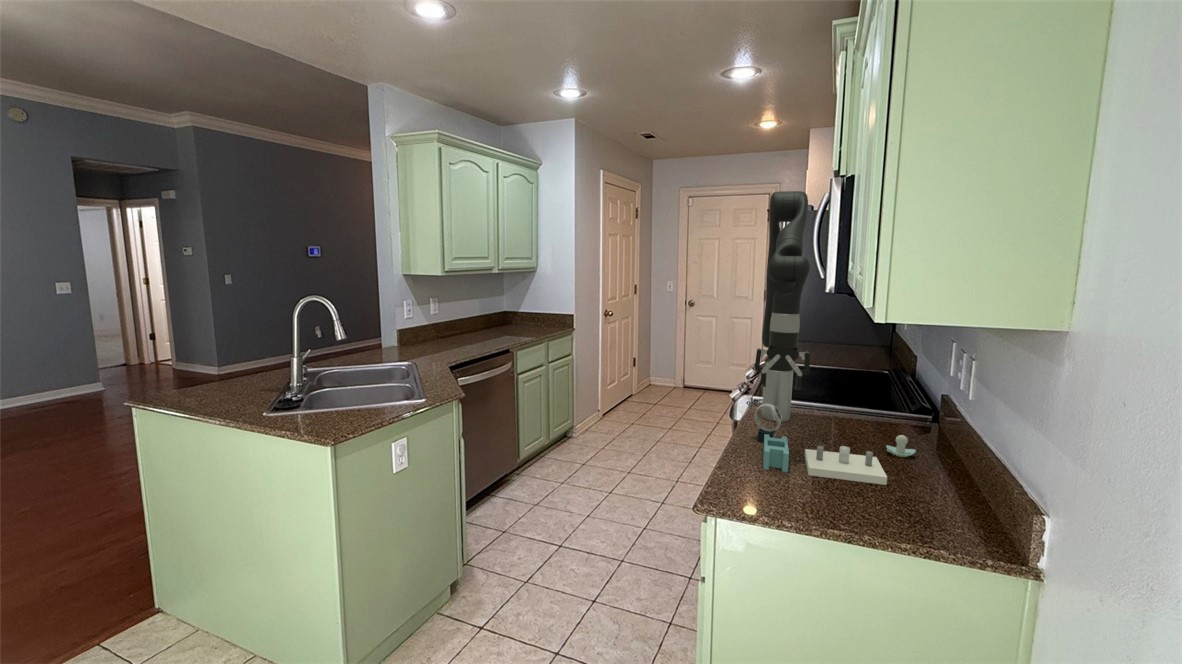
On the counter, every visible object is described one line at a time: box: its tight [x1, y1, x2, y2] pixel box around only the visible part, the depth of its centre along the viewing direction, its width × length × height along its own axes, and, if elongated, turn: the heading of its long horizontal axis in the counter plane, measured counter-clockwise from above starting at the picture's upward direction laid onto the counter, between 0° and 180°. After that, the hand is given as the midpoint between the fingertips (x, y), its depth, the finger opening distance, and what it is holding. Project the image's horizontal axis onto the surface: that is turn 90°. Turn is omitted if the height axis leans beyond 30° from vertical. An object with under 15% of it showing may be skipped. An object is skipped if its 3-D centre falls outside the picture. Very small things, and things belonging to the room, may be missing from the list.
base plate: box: [804, 445, 888, 486], centre depth 145 cm, size 14×18×6 cm
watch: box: [753, 404, 782, 443], centre depth 166 cm, size 6×8×11 cm
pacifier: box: [885, 434, 917, 458], centre depth 156 cm, size 7×6×6 cm
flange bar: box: [762, 434, 790, 473], centre depth 150 cm, size 14×6×5 cm, turn 163°
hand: (780, 387), depth 153 cm, fingers open, 8 cm apart
